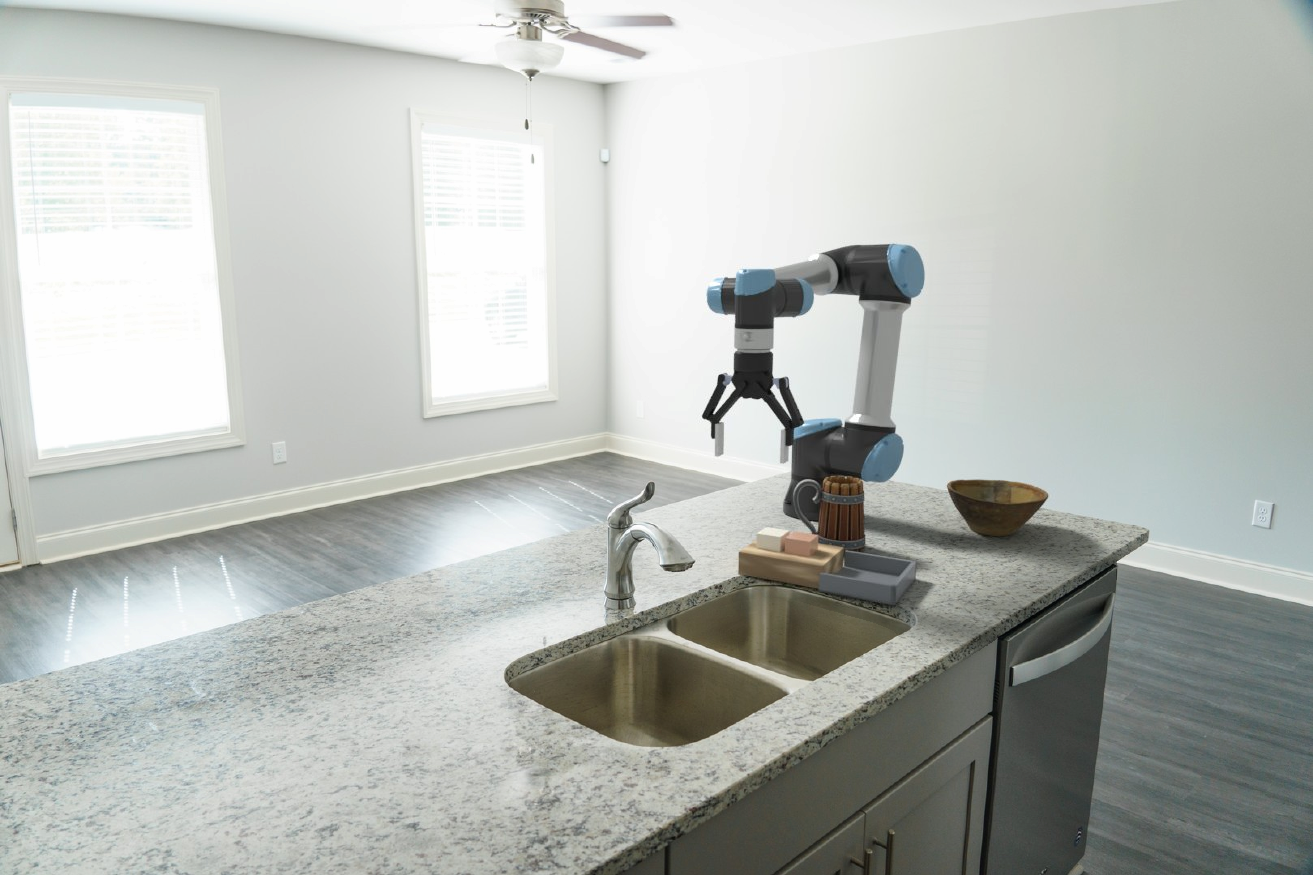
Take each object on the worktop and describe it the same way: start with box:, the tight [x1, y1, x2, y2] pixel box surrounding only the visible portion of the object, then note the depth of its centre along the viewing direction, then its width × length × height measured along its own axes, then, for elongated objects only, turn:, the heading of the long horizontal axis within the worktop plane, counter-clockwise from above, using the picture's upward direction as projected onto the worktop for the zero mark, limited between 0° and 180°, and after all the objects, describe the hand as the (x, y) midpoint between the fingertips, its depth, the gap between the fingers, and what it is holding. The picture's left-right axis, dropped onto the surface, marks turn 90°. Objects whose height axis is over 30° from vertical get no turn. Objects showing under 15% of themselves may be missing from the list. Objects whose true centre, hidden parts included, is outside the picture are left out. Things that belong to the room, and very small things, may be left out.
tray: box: [818, 550, 918, 606], centre depth 168 cm, size 16×14×4 cm
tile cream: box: [755, 526, 791, 552], centre depth 176 cm, size 5×5×3 cm
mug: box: [793, 476, 866, 556], centre depth 189 cm, size 16×11×15 cm
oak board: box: [737, 540, 845, 590], centre depth 175 cm, size 13×17×4 cm
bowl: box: [946, 479, 1049, 537], centre depth 202 cm, size 22×23×10 cm
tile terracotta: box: [785, 530, 818, 557], centre depth 173 cm, size 5×5×3 cm
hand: (751, 458), depth 174 cm, fingers open, 13 cm apart
